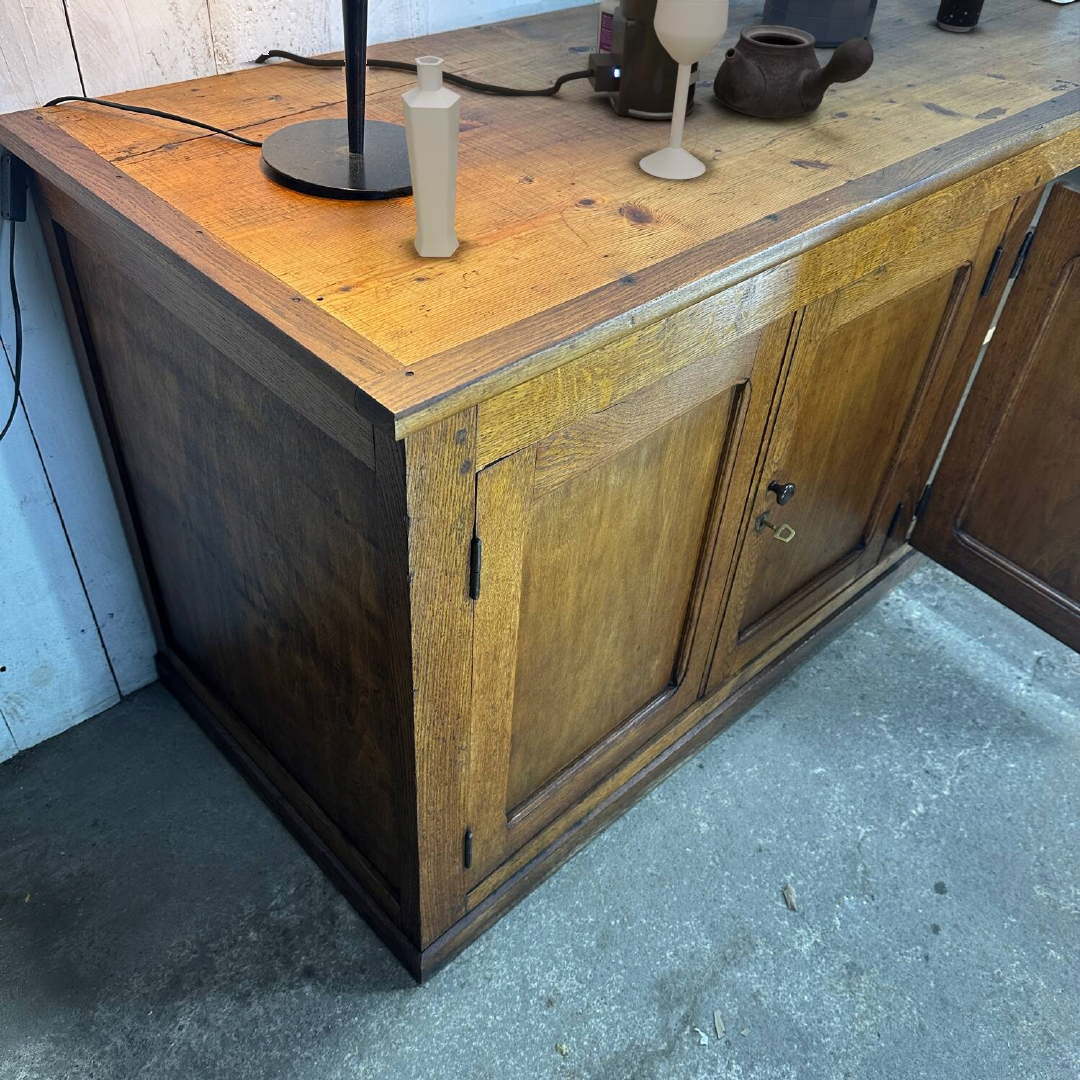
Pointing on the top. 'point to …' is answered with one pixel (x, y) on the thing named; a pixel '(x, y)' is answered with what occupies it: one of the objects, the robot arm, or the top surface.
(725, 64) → the teapot
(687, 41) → the champagne flute
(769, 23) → the bowl
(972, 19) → the beverage can
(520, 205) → the top surface
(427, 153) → the beige faceted vase
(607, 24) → the pill bottle
